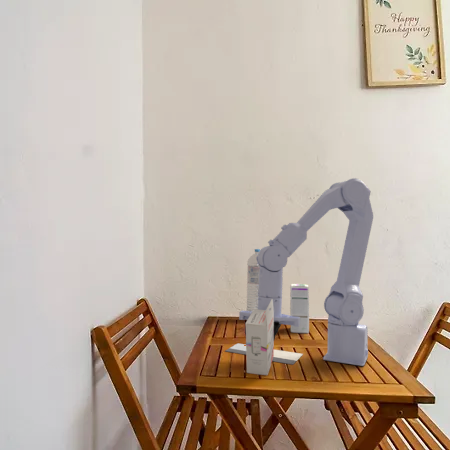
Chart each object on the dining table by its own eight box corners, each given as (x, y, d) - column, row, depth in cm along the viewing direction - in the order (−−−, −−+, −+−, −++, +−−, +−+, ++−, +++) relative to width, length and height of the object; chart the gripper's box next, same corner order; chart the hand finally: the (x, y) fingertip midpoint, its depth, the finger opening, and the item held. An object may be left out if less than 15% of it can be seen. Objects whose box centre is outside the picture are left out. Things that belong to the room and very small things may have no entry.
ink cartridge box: (253, 354, 95) (253, 295, 92) (274, 357, 93) (274, 297, 91) (245, 373, 86) (244, 309, 84) (267, 376, 85) (267, 312, 82)
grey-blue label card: (264, 347, 105) (264, 347, 105) (253, 356, 98) (253, 355, 98) (237, 343, 109) (237, 343, 109) (224, 351, 102) (224, 350, 102)
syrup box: (309, 333, 122) (309, 286, 122) (289, 332, 122) (290, 285, 123) (308, 329, 127) (308, 284, 127) (289, 328, 128) (290, 283, 128)
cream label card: (303, 354, 100) (303, 353, 100) (292, 364, 92) (292, 364, 92) (269, 349, 104) (269, 348, 104) (257, 358, 96) (257, 358, 96)
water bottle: (256, 317, 142) (257, 248, 143) (270, 321, 137) (271, 249, 138) (242, 320, 138) (243, 248, 139) (256, 324, 133) (257, 249, 133)
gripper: (303, 296, 96) (300, 352, 96) (246, 291, 101) (244, 344, 101) (297, 300, 90) (295, 361, 89) (237, 294, 95) (235, 351, 94)
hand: (267, 352), depth 95 cm, fingers closed, pressing on ink cartridge box
